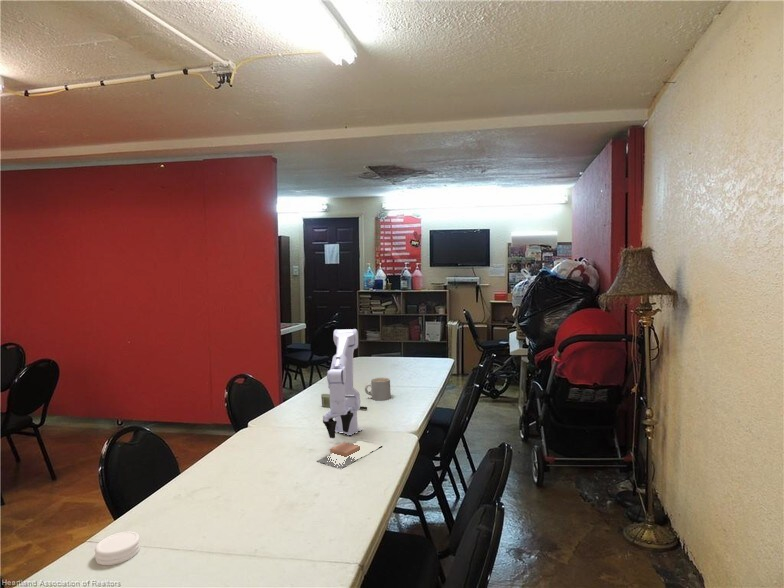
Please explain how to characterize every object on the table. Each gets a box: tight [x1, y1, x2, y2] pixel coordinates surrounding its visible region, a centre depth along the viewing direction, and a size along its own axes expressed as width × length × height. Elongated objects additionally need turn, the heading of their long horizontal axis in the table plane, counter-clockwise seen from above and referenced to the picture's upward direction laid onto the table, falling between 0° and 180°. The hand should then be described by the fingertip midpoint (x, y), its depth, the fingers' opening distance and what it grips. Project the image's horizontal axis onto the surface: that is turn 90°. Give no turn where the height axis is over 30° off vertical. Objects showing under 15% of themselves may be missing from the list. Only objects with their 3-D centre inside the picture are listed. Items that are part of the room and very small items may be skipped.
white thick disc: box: [94, 530, 141, 566], centre depth 123 cm, size 10×10×4 cm
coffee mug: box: [364, 376, 392, 402], centre depth 256 cm, size 13×10×10 cm
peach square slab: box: [329, 441, 360, 457], centre depth 184 cm, size 2×8×8 cm
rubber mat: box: [316, 455, 357, 469], centre depth 182 cm, size 12×24×1 cm, turn 144°
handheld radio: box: [320, 393, 368, 411], centre depth 240 cm, size 7×3×25 cm
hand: (339, 434), depth 185 cm, fingers open, 7 cm apart
